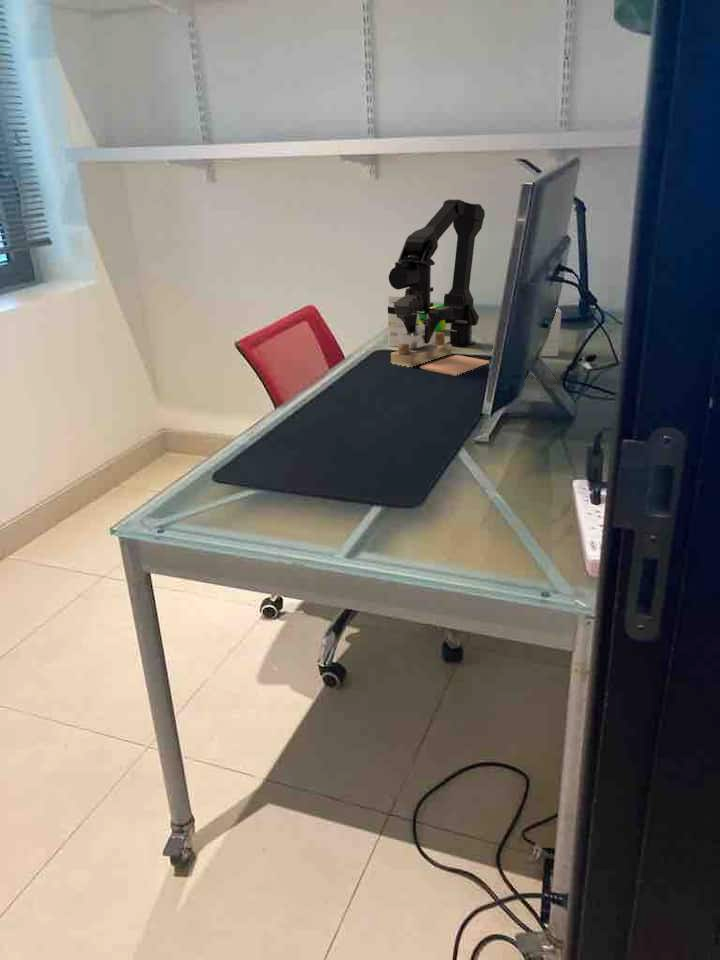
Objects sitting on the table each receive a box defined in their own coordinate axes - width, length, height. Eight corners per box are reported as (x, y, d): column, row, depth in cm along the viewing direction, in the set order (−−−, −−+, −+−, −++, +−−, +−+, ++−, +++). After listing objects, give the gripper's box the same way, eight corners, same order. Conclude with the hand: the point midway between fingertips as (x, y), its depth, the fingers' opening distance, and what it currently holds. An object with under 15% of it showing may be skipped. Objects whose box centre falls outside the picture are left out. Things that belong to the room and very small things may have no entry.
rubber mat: (456, 356, 214) (456, 354, 214) (491, 363, 206) (492, 361, 206) (420, 368, 203) (420, 366, 203) (456, 376, 196) (456, 373, 195)
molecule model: (436, 336, 239) (448, 330, 245) (436, 307, 235) (449, 303, 242) (411, 333, 243) (424, 328, 250) (411, 305, 240) (424, 301, 246)
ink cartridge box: (419, 344, 229) (420, 294, 223) (414, 347, 225) (414, 297, 219) (393, 342, 232) (392, 293, 226) (387, 346, 228) (387, 296, 222)
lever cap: (421, 340, 214) (421, 324, 212) (435, 342, 211) (435, 326, 209) (403, 345, 209) (402, 328, 207) (417, 347, 206) (417, 331, 204)
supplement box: (554, 350, 218) (558, 306, 213) (558, 357, 211) (562, 311, 206) (528, 350, 219) (531, 306, 214) (531, 357, 212) (534, 311, 207)
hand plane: (431, 351, 221) (432, 330, 218) (451, 354, 216) (451, 333, 214) (390, 363, 209) (390, 342, 206) (410, 367, 204) (410, 345, 202)
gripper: (373, 285, 204) (374, 342, 210) (428, 291, 192) (427, 352, 198) (400, 279, 211) (400, 335, 218) (454, 285, 200) (453, 344, 206)
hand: (419, 341), depth 210 cm, fingers closed on lever cap, 5 cm apart
